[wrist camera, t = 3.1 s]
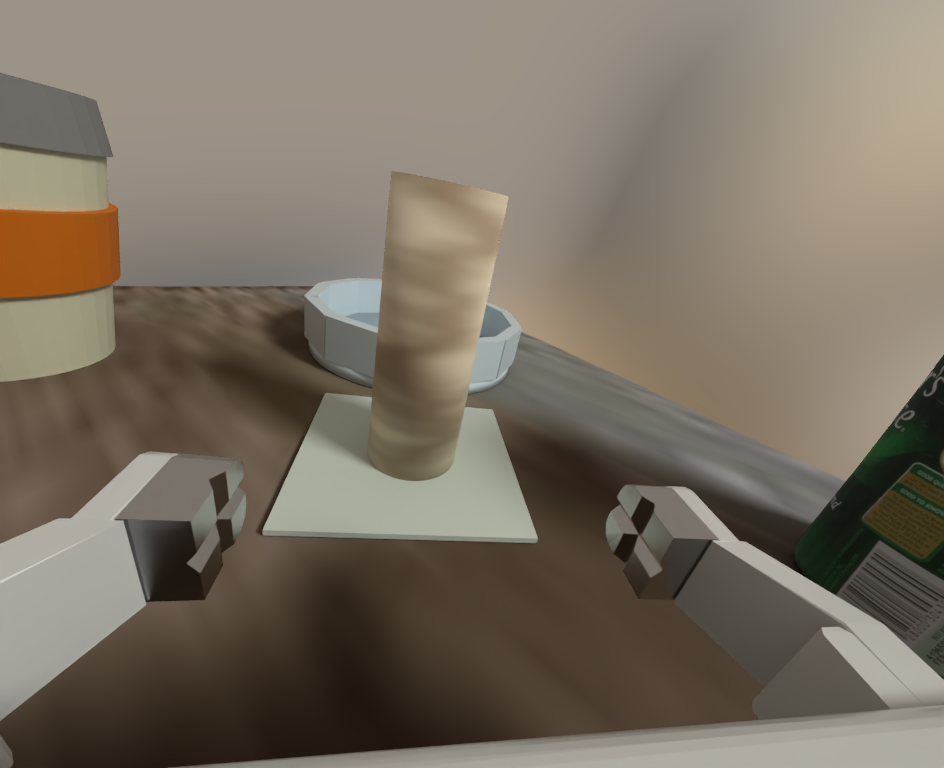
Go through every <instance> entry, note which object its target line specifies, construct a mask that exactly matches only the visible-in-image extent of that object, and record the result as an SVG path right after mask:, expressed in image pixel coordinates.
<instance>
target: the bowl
mask: <svg viewBox="0 0 944 768" xmlns="http://www.w3.org/2000/svg"><path fill="white" fill-rule="evenodd" d="M381 287H382V279H364V278H363V279H362V278H350V279H342V280H335V281H328V282H320V283H318V284H317V285H315V286H314V287H313V288H312V289H311V290H310V291H309V292H308V293H306V294H305V295H304V336H305V337H306V338H307V340H308V347H309V351H310V353H311V355H312V356H313V358H314V359H315V360H316V361H317V362H318V363H319V364H320V365H322V366H323V367H324V368H326V369H327V370H329V371H331V372H332V373H334V374H336V375H338V376H340V377H342V378H345V379H347V380H349V381H352V382H355V383H358V384H360V385H363V386H367V387H371V388H373V380H374V368H375V356H376V345H377V333H378V322H379V310H380V298H381ZM521 330H522V327H521V326H520V325H519V323H518V322H517V321H516V320H515V318H514V317H513V316H512V314H511V313H509V312H508V311H505V310H503V309H501V308H499V307H497V306H495V305H493V304H491V303H489V302H487V303H486V308H485V313H484V318H483V323H482V327H481V332H480V337H479V342H478V347H477V351H476V356H475V361H474V366H473V371H472V375H471V380H470V385H469V390H468V394H474V393H478V392H482V391H485V390H488V389H490V388H492V387H494V386H496V385H498V384H499V383H500V382H502V381H503V380H504V378H505V377H506V375H507V372H508V368H509V366H510V365H511V364H512V363H513V361H514V357H515V353H516V350H517V346H518V342H519V338H520V334H521Z"/></svg>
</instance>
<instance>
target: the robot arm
mask: <svg viewBox="0 0 944 768" xmlns="http://www.w3.org/2000/svg"><path fill="white" fill-rule="evenodd" d="M243 477H244V473H243V465H242V462H241V461H240V460H239V459H236V458H224V457H213V456H201V455H190V454H174V453H161V452H146V453H143V454H140V455H139V456H137V457H136V458H135V459H134V460H133V461H132V462H131V463H130V464H129V465H128V466H127V467H126V468H124V469H123V470H122V471H121V472H120V473H119V474H118V475H117V476H116V477H115V478H114V479H113V480H112V481H110V482H109V483H108V484H107V485H106V486H105V487H104V488H103V489H102V490H101V491H100V492H99V493H98V494H97V495H95V496H94V497H93V498H92V499H91V500H90V501H89V502H88V503H87V504H86V505H85V506H84V507H83V508H81V509H80V510H79V511H78V512H77V513H76V514H75V515H74V516H73V517H72V518H71V519H62V518H59V519H56V520H54V521H52V522H49V523H47V524H45V525H42V526H40V527H38V528H35V529H33V530H31V531H29V532H26V533H24V534H22V535H19V536H17V537H15V538H12V539H10V540H8V541H6V542H3V543H1V544H0V721H1V720H2V719H3V718H5V717H6V716H7V715H8V714H10V713H11V712H12V711H13V710H15V709H16V708H17V707H18V706H20V705H21V704H22V703H23V702H25V701H26V700H27V699H28V698H30V697H31V696H32V695H33V694H35V693H36V692H37V691H38V690H40V689H41V688H42V687H44V686H45V685H46V684H47V683H49V682H50V681H51V680H52V679H54V678H55V677H56V676H57V675H59V674H60V673H61V672H62V671H64V670H65V669H66V668H67V667H69V666H70V665H71V664H72V663H74V662H75V661H76V660H77V659H79V658H80V657H81V656H83V655H84V654H85V653H86V652H88V651H89V650H90V649H91V648H93V647H94V646H95V645H96V644H98V643H99V642H100V641H101V640H103V639H104V638H105V637H106V636H108V635H109V634H110V633H111V632H113V631H114V630H115V629H116V628H118V627H119V626H120V625H122V624H123V623H124V622H125V621H127V620H128V619H129V618H130V617H132V616H133V615H134V614H135V613H137V612H138V611H139V610H140V609H142V608H143V607H144V606H145V605H146V602H153V601H188V600H205V598H206V596H207V594H208V593H209V591H210V589H211V587H212V585H213V583H214V581H215V579H216V577H217V576H218V574H219V572H220V570H221V568H222V566H223V562H222V552H223V551H225V550H226V549H228V548H229V547H231V546H232V545H234V543H235V541H236V539H237V537H238V535H239V533H240V531H241V527H242V524H243V521H244V517H245V510H246V495H245V493H244V492H243V491H242V490H241V489H240V488H239V487H238V485H239V483H240V482H241V480H242V478H243ZM617 499H618V502H619V506H617V507H616V508H615V509H613V510H612V511H611V512H610V514H609V516H608V519H607V521H606V537H607V540H608V544H609V546H610V548H611V550H612V552H613V554H615V555H616V556H617V557H618V558H620V559H621V560H622V561H623V562H624V568H623V572H624V574H625V575H626V577H627V579H628V581H629V583H630V584H631V586H632V588H633V590H634V592H635V593H636V595H637V597H638V599H658V600H674V603H675V604H676V605H677V606H678V607H679V608H680V609H681V610H682V611H683V612H684V613H686V614H687V615H688V616H689V617H690V618H691V619H692V620H693V621H694V622H695V623H696V624H697V625H698V626H699V627H700V628H701V629H702V630H704V631H705V632H706V633H707V634H708V635H709V636H710V637H711V638H712V639H713V640H714V641H715V642H716V643H717V644H718V645H719V646H720V647H722V648H723V649H724V650H725V651H726V652H727V653H728V654H729V655H730V656H731V657H732V658H733V659H734V660H735V661H736V662H737V663H738V664H740V665H741V666H742V667H743V668H744V669H745V670H746V671H747V672H748V673H749V674H750V675H751V676H752V677H753V678H754V679H755V680H756V681H758V682H759V683H760V684H761V685H762V686H763V687H764V689H763V690H762V691H761V692H760V693H759V694H758V695H757V696H756V697H755V699H754V700H753V702H752V710H753V711H754V713H755V714H756V716H757V717H758V719H759V720H752V721H740V722H728V723H715V724H703V725H690V726H678V727H665V728H653V729H641V730H628V731H616V732H603V733H591V734H578V735H566V736H554V737H541V738H529V739H516V740H504V741H491V742H479V743H467V744H454V745H442V746H429V747H417V748H404V749H392V750H380V751H367V752H355V753H343V754H330V755H318V756H306V757H293V758H281V759H269V760H256V761H244V762H232V763H219V764H207V765H195V766H182V767H170V768H944V680H943V679H942V678H941V677H940V676H939V675H938V674H937V673H936V672H935V671H934V670H933V669H932V668H930V667H929V666H928V665H927V664H926V663H925V662H924V661H923V660H922V659H921V658H920V657H919V656H917V655H916V654H915V653H914V652H913V651H912V650H911V649H910V648H909V647H908V646H907V645H906V644H904V643H903V642H902V641H901V640H900V639H899V638H898V637H897V636H896V635H895V634H894V633H893V632H891V631H890V630H889V629H888V628H887V627H886V626H885V625H884V624H882V623H881V622H879V621H877V620H876V619H874V618H872V617H871V616H869V615H867V614H866V613H864V612H862V611H861V610H859V609H857V608H856V607H854V606H852V605H851V604H849V603H847V602H846V601H844V600H842V599H841V598H839V597H837V596H836V595H834V594H832V593H831V592H829V591H827V590H826V589H824V588H822V587H821V586H819V585H817V584H816V583H814V582H812V581H811V580H809V579H807V578H806V577H804V576H802V575H800V574H799V573H797V572H795V571H794V570H792V569H790V568H789V567H787V566H785V565H784V564H782V563H780V562H779V561H777V560H775V559H774V558H772V557H770V556H769V555H767V554H765V553H764V552H762V551H760V550H759V549H757V548H755V547H754V546H752V545H750V544H749V543H747V542H742V541H739V540H738V539H737V538H736V537H735V536H734V535H733V534H732V533H731V532H730V530H729V529H728V528H727V527H726V526H725V525H724V524H723V523H722V522H721V521H720V520H719V519H718V518H717V517H716V516H715V514H714V513H713V512H712V511H711V510H710V509H709V508H708V507H707V506H706V505H705V504H704V503H703V502H702V501H701V500H700V498H699V497H698V496H697V495H696V494H695V493H694V492H693V491H692V490H690V489H688V488H686V487H675V486H665V487H662V486H646V485H629V484H626V485H625V486H624V487H623V488H622V489H621V490H620V492H619V494H618V496H617ZM12 765H13V756H12V751H11V750H10V748H9V747H8V745H7V744H6V743H5V741H4V740H3V738H2V737H1V735H0V768H11V766H12Z"/></svg>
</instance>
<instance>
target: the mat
mask: <svg viewBox="0 0 944 768" xmlns="http://www.w3.org/2000/svg"><path fill="white" fill-rule="evenodd" d="M371 403H372V397H362V396H352V395H342V394H333V393H325V395H324V397H323V399H322V402H321V404H320V406H319V408H318V410H317V412H316V415H315V417H314V419H313V421H312V423H311V426H310V428H309V430H308V432H307V434H306V436H305V439H304V441H303V443H302V445H301V447H300V450H299V452H298V454H297V456H296V458H295V460H294V463H293V465H292V467H291V469H290V471H289V474H288V476H287V478H286V480H285V482H284V484H283V487H282V489H281V491H280V493H279V495H278V498H277V500H276V502H275V504H274V506H273V508H272V511H271V513H270V515H269V517H268V519H267V521H266V524H265V526H264V528H263V535H267V536H302V537H337V538H373V539H408V540H443V541H479V542H514V543H536V542H537V540H538V538H537V535H536V532H535V529H534V526H533V523H532V520H531V518H530V515H529V512H528V509H527V506H526V503H525V501H524V498H523V495H522V492H521V489H520V486H519V483H518V481H517V478H516V475H515V472H514V469H513V466H512V464H511V461H510V458H509V455H508V452H507V449H506V446H505V444H504V441H503V438H502V435H501V432H500V429H499V427H498V424H497V421H496V418H495V415H494V412H493V410H491V409H481V408H471V407H465V409H464V414H463V419H462V423H461V428H460V433H459V438H458V443H457V448H456V452H455V457H454V462H453V464H452V466H451V468H450V469H449V470H448V471H447V472H446V473H444V474H443V475H441V476H439V477H436V478H434V479H430V480H425V481H406V480H400V479H396V478H393V477H390V476H388V475H386V474H384V473H382V472H381V471H379V470H378V469H376V468H375V467H374V466H373V465H372V463H371V462H370V460H369V458H368V454H367V449H368V438H369V426H370V415H371Z"/></svg>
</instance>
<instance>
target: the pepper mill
mask: <svg viewBox="0 0 944 768" xmlns="http://www.w3.org/2000/svg"><path fill="white" fill-rule="evenodd" d="M508 198H509V197H508V196H505V195H502V194H498V193H494V192H490V191H487V190H482V189H478V188H474V187H470V186H465V185H461V184H456V183H452V182H447V181H442V180H438V179H433V178H428V177H423V176H417V175H412V174H406V173H401V172H393V171H392V172H391V182H390V194H389V206H388V217H387V230H386V240H385V252H384V264H383V275H382V287H381V298H380V310H379V322H378V333H377V345H376V356H375V368H374V380H373V391H372V403H371V415H370V426H369V438H368V449H367V454H368V458H369V460H370V462H371V463H372V465H373V466H374V467H375V468H376V469H378V470H379V471H381V472H382V473H384V474H386V475H388V476H390V477H393V478H396V479H400V480H406V481H425V480H430V479H434V478H436V477H439V476H441V475H443V474H444V473H446V472H447V471H448V470H449V469H450V468H451V466H452V464H453V462H454V457H455V452H456V448H457V443H458V438H459V433H460V428H461V423H462V419H463V414H464V409H465V404H466V399H467V395H468V390H469V385H470V380H471V375H472V371H473V366H474V361H475V356H476V351H477V347H478V342H479V337H480V332H481V327H482V323H483V318H484V313H485V308H486V303H487V299H488V294H489V289H490V284H491V279H492V274H493V270H494V265H495V260H496V255H497V250H498V246H499V241H500V236H501V231H502V227H503V222H504V217H505V212H506V207H507V202H508Z"/></svg>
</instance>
